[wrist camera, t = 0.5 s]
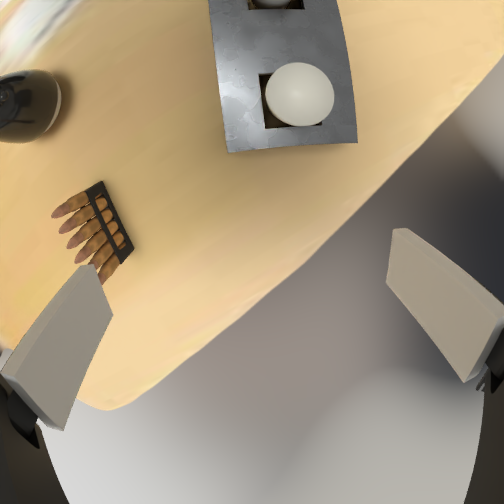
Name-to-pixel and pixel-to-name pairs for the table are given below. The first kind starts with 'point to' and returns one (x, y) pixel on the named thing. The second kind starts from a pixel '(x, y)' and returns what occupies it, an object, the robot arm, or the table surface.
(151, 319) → the table surface
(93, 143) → the table surface
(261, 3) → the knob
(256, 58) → the housing
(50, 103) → the pump dispenser
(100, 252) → the ammunition clip
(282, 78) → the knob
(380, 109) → the table surface
